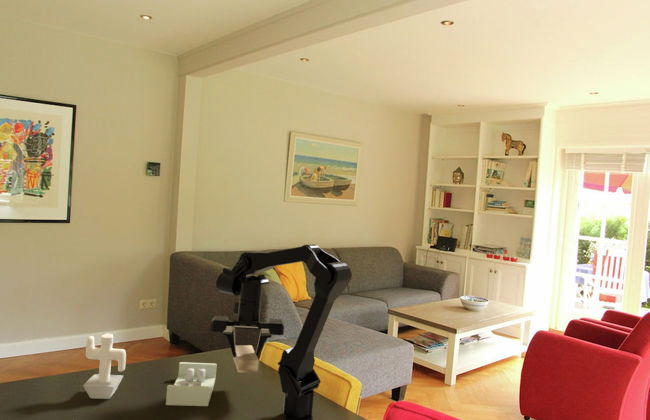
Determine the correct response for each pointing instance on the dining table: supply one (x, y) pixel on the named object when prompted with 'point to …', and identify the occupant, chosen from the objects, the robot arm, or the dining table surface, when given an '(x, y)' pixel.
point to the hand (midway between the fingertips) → (245, 357)
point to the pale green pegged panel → (192, 385)
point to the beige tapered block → (246, 359)
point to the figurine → (104, 367)
